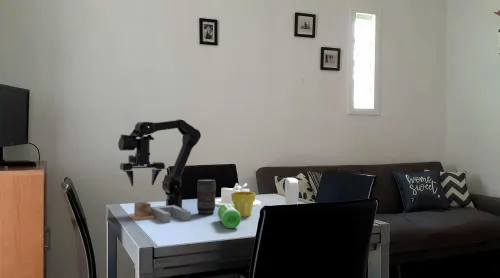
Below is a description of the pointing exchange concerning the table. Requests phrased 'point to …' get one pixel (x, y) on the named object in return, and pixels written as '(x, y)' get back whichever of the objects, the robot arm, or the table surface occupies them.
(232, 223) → the speaker
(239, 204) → the plant pot
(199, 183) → the camera lens
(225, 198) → the dish
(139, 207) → the walnut block
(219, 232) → the table surface
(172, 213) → the pocket board
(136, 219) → the terracotta tile
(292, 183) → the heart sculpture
